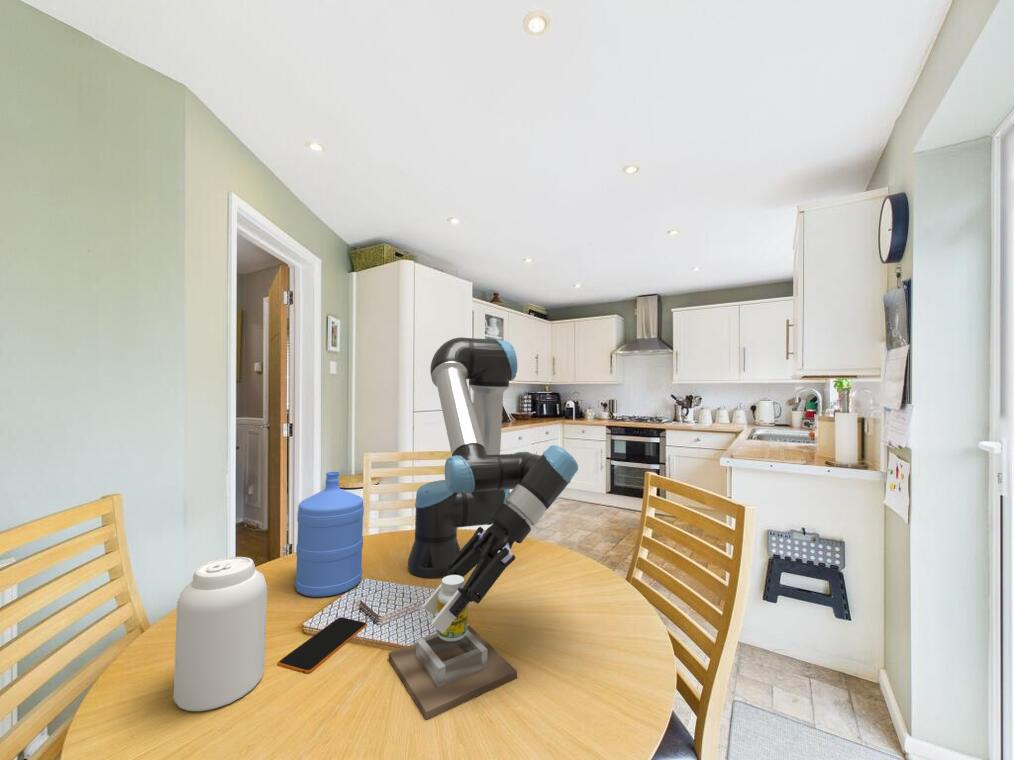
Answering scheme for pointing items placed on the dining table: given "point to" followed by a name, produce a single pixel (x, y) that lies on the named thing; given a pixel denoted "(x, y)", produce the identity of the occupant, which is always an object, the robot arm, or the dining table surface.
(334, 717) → the dining table surface
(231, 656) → the can
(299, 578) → the water jug
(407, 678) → the square framed base tray
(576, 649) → the dining table surface
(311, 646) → the smartphone
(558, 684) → the dining table surface
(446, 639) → the supplement bottle
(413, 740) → the dining table surface
